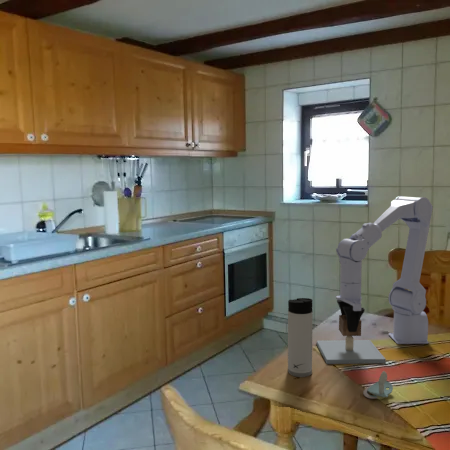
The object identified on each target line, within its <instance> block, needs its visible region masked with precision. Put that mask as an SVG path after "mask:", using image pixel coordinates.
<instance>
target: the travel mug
mask: <svg viewBox="0 0 450 450" xmlns="http://www.w3.org/2000/svg"><path fill="white" fill-rule="evenodd" d="M287 303H288V304H287V305H288V306H287V307H288V308H287V309H288V310H287V372H288V374H290V375H291V376H293V377H297V378H306V377H309V376H311V375H312V373H313V315H314V314H313V311H314V310H313V299H312V298H308V297H306V298H305V297H297V298H295V299H289V300H288V302H287Z"/></svg>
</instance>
